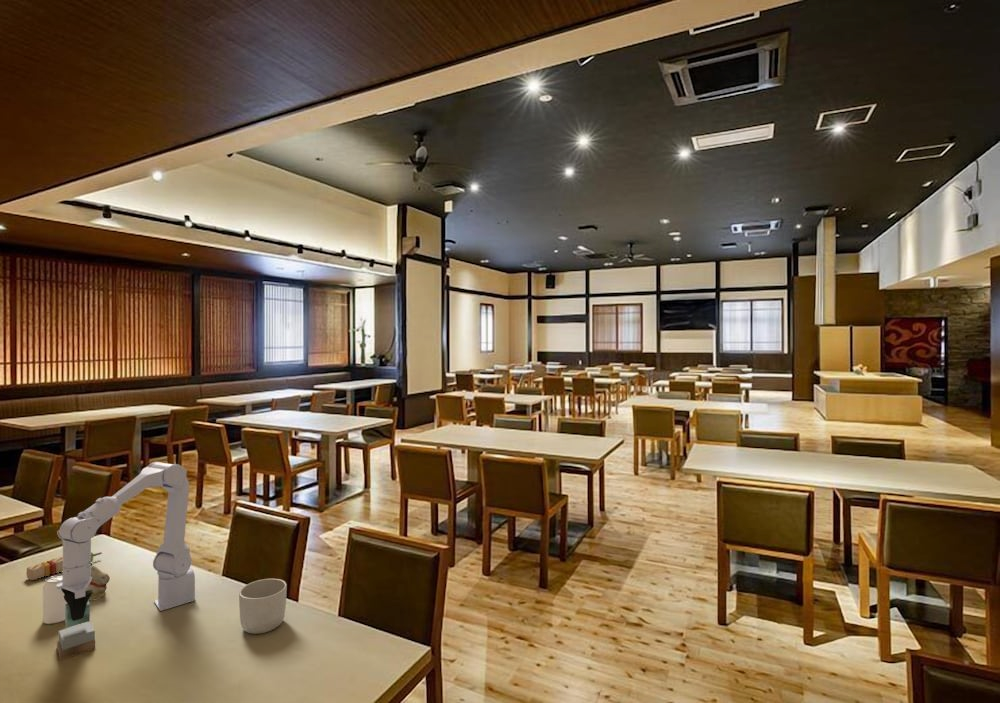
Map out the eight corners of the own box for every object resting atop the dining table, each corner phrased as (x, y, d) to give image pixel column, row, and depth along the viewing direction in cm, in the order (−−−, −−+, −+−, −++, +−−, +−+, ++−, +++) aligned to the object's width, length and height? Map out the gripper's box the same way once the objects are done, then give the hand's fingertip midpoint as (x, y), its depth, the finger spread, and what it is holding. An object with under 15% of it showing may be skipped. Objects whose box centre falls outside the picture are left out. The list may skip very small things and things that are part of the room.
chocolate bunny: (97, 602, 157) (97, 569, 157) (72, 601, 158) (72, 569, 157) (111, 593, 163) (111, 562, 163) (87, 592, 163) (87, 561, 163)
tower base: (90, 639, 138) (90, 630, 138) (95, 650, 134) (95, 640, 134) (57, 650, 133) (57, 640, 133) (60, 661, 128) (60, 651, 128)
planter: (293, 625, 146) (294, 588, 146) (248, 643, 137) (249, 603, 136) (275, 610, 154) (275, 574, 154) (231, 626, 145) (232, 588, 145)
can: (54, 626, 144) (55, 584, 144) (36, 623, 145) (36, 581, 145) (77, 614, 150) (78, 574, 150) (60, 611, 151) (60, 571, 151)
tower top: (90, 630, 138) (90, 621, 138) (94, 639, 134) (94, 630, 134) (58, 640, 133) (58, 630, 133) (62, 650, 129) (62, 640, 129)
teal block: (87, 614, 137) (87, 598, 137) (89, 621, 134) (89, 604, 134) (65, 620, 134) (65, 603, 134) (67, 627, 130) (67, 610, 130)
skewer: (32, 583, 169) (32, 568, 169) (24, 579, 172) (24, 564, 172) (105, 561, 187) (105, 547, 187) (97, 557, 190) (97, 544, 190)
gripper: (54, 560, 136) (53, 610, 136) (59, 577, 125) (59, 632, 125) (87, 552, 141) (87, 601, 141) (95, 569, 130) (95, 621, 131)
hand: (76, 615), depth 133 cm, fingers closed on teal block, 4 cm apart
